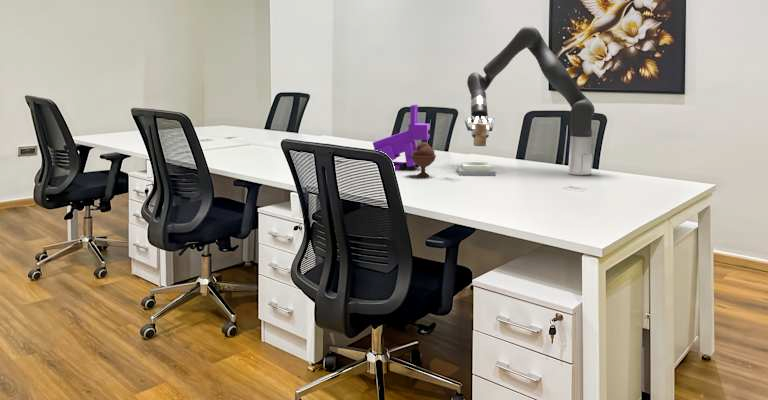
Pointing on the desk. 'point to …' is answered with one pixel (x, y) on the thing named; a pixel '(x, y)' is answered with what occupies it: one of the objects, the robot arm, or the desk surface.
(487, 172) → the plinth
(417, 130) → the toy
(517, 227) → the desk surface
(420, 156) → the ice cream bowl
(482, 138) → the brown mottled cylinder
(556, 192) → the desk surface
